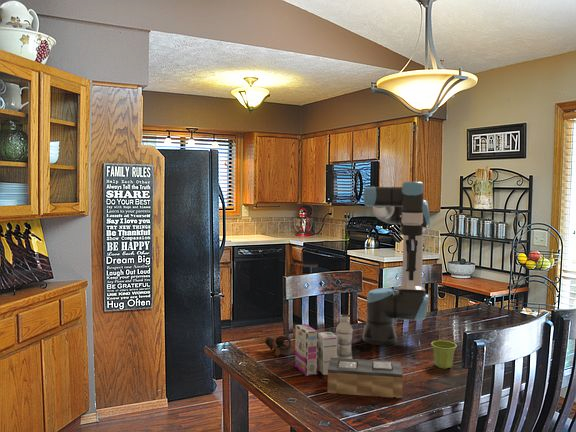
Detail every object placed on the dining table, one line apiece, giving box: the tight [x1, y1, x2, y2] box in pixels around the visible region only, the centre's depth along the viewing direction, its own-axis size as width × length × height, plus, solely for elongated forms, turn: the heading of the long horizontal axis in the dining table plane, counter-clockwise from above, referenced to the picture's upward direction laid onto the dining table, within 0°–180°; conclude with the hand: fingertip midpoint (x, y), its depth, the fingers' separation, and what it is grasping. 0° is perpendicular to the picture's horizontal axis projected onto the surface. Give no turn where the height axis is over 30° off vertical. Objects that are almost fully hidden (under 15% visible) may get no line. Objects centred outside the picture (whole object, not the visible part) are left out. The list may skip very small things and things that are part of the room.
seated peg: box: [338, 361, 357, 369], centre depth 174 cm, size 6×6×8 cm
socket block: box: [327, 358, 404, 399], centre depth 173 cm, size 12×25×8 cm, turn 81°
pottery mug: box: [264, 334, 293, 357], centre depth 210 cm, size 12×10×8 cm
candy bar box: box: [294, 323, 319, 377], centre depth 190 cm, size 11×5×16 cm, turn 22°
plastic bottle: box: [335, 314, 354, 359], centre depth 193 cm, size 6×7×20 cm
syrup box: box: [317, 331, 338, 376], centre depth 188 cm, size 6×6×14 cm
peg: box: [373, 361, 392, 371], centre depth 172 cm, size 6×6×8 cm
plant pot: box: [430, 340, 457, 370], centre depth 195 cm, size 9×9×9 cm
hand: (410, 288), depth 184 cm, fingers closed
